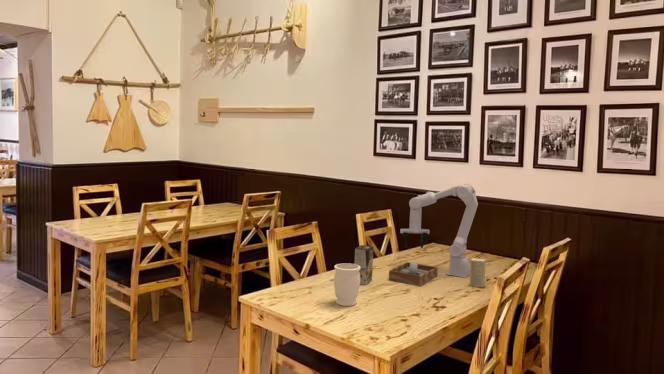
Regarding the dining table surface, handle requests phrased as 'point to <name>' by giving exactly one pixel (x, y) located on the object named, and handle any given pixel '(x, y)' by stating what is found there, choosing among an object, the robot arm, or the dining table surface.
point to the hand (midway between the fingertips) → (414, 247)
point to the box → (403, 275)
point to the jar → (346, 283)
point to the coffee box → (364, 263)
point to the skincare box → (477, 272)
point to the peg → (413, 268)
